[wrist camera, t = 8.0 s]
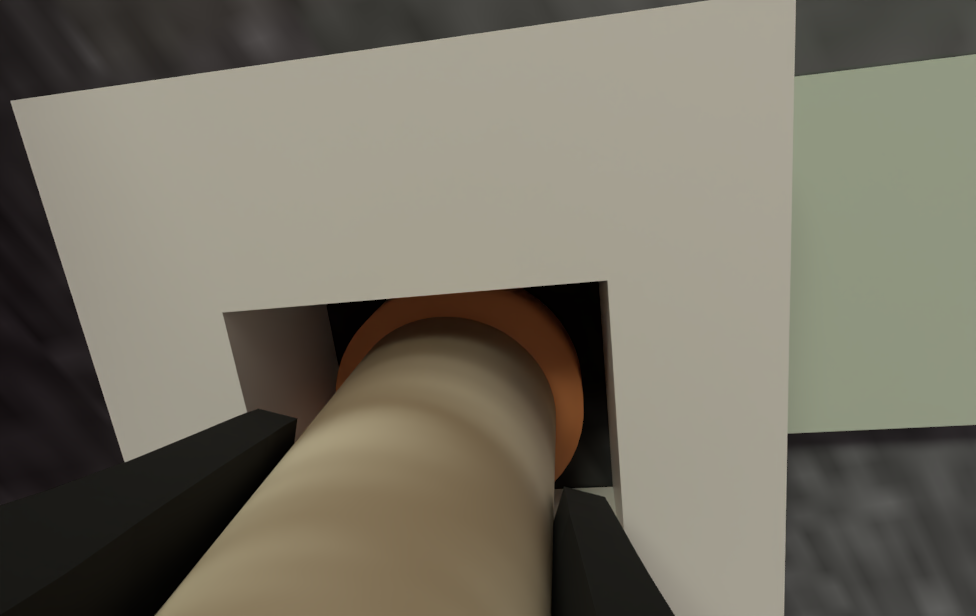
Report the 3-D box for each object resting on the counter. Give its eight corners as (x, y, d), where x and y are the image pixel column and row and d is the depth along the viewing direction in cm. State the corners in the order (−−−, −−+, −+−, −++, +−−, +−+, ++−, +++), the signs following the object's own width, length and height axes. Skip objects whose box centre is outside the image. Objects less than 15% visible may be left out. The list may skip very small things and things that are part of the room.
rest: (748, 421, 14) (756, 434, 13) (748, 82, 12) (757, 81, 11) (1056, 406, 13) (1079, 419, 12) (1112, 37, 11) (1142, 33, 10)
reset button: (374, 488, 15) (359, 519, 14) (335, 283, 13) (314, 299, 12) (590, 480, 14) (592, 512, 13) (572, 262, 13) (572, 277, 11)
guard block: (296, 613, 17) (218, 759, 13) (170, 104, 13) (10, 101, 9) (726, 609, 15) (780, 775, 11) (720, 29, 12) (795, -13, 8)
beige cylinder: (334, 472, 13) (0, 997, 5) (372, 290, 12) (6, 635, 4) (523, 528, 13) (464, 1149, 5) (582, 351, 11) (621, 827, 4)
